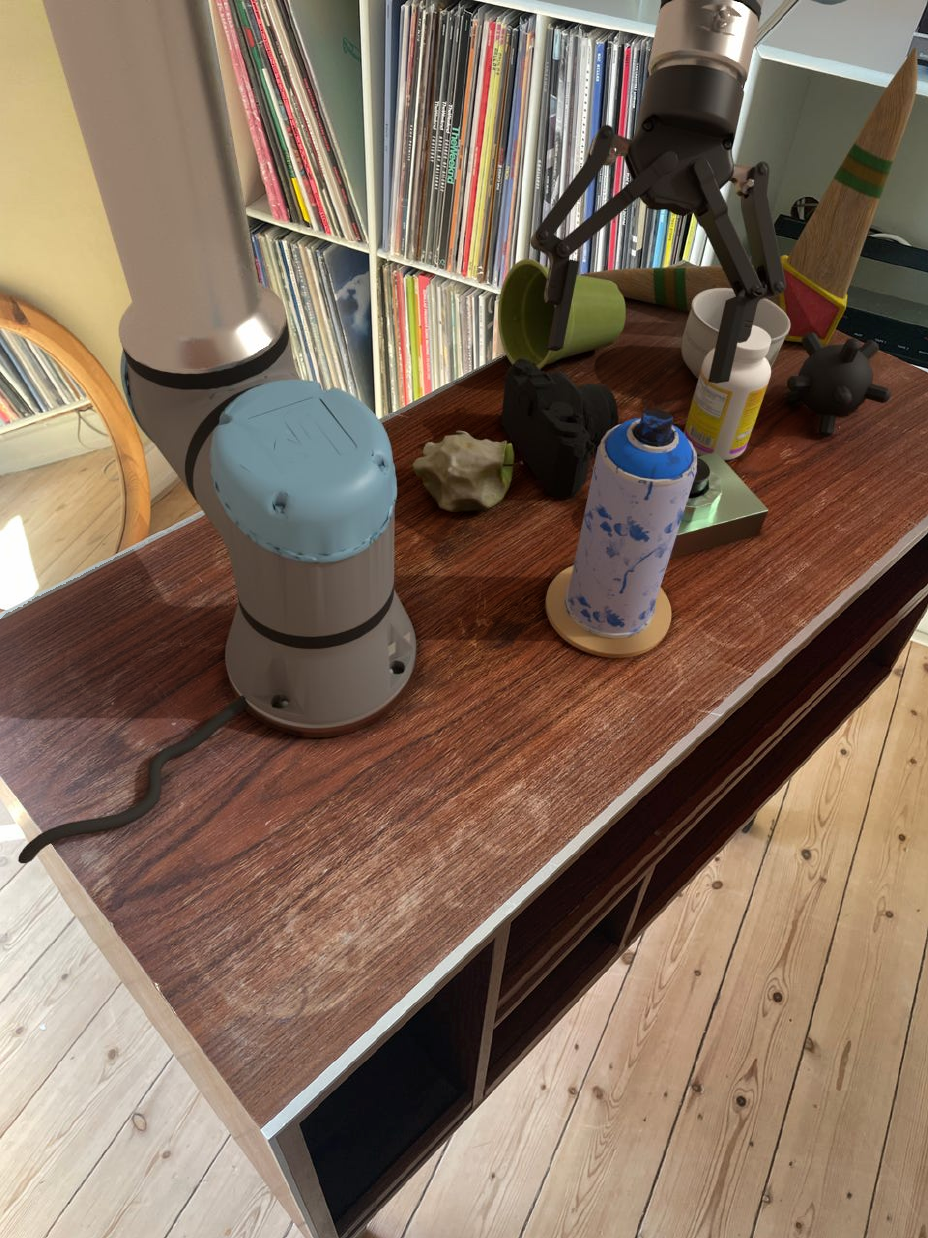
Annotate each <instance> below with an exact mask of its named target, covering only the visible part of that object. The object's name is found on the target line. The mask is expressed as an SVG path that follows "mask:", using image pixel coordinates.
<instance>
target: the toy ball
mask: <svg viewBox="0 0 928 1238" xmlns="http://www.w3.org/2000/svg"><path fill="white" fill-rule="evenodd" d="M800 343H801V344H802V346H803V348H804V349H805V351H806V353H807V354H808V357H807V358H806V359H805V360H804V362H803V364H802V366H801V367H800V369H799V372H798V373H797V375H790V376H789V377H788V378H787V380H786V388H787V389H788V390H789V391H787V392H786V393H785V396H784V399H785V403H786V404H788V405H789V406H793V405H796V404H799V403H801V404H803V405H804V406H805V407H806V408H807V409H808V410H809V411H810V412H811V413H813V414H816V415H819V416H820V417H819V423H818V426H817V427H818V428H817V434H818V435H819V436H820V437H823V438H830V437H831V436H832V435H834V432H835V426H836V420H837V418H840V417H843V416H846V415H848V414H853V413H856V412H857V410H859V407H861V406H862V405H863V404H864V403H865V402H866V400H870V401H873V402H877V403H880V404H885V403H887V402H889V400H890V399H891V396H892V391H891V389H890V388H888V387H886V386H882V385H878V384H875V383H873V382H874V372H873V369H872V365H871V363H870V359H872V357H873V356H875V354H877V352H879V349H880V347H879V344H878V343H877V342H876V341H874V340H872V339H871V340H870V339H869V340H867V341H866V342H865V343H864V344H861V342H860V340H859V339H858V338H855V337H851V338H847V339H846V340H845V342H844V344H829V345H828V344H827V345H825V346H824V345H822V343H821V342H820V340H819V338H818V337H817V335H816V334H815V333H813V332H811V333H807V334H806V335H804V336H803V338H802V341H801V342H800Z"/></svg>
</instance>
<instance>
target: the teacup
mask: <svg viewBox="0 0 928 1238" xmlns="http://www.w3.org/2000/svg"><path fill="white" fill-rule="evenodd" d="M735 296H736V295H735V293H734V291H733V289H730V288H715V289H709V290H706V291H703V292H701V293H699V294H698V295H696V296H695V298H694V299H693V301H692V304H691V311H689V314H688V317H687V321H686V323H685V327H684V332H683V335H682V340H681V346H680V347H681V348H680V349H681V351H680V352H681V357H682V359H683V361H684V363H685V365H686V366H687V368H688V369H689V370H690V371H691V373H692V374H693V375H694V376H695V378H696V379H699V375H700V372H701V368H702V364H703V361H704V359H705V357H706V355H707V354H708V353H709V352H710V351H711V350H713V349H714V348H715V347H716V343H717V338H718V333H719V329H720V324H721V320H722V315H723V311H724V306H725V301H726V300H728V299H731V298H733V297H735ZM753 325H755V326H757V327H760V328H761V329H763V330H765V331H766V332H767V333H768V334H769V336H770V337H771V344H770V348H769V351H768V353H767V355H766V356H765V358H766V359H767V360H768V362H769V364H770V367H771V368H772V367H773V365H774V363H775V362H776V359H777V358H778V357H777V356H778V354H779V352H780V350H781V348H782V346H783V343H784V341H785V336H786V335H787V334H788V332H789V330H790V320H789V318H788V316H787V315H786V313H785V312H784V311H783V310H782V309H781V308H780V307H778V306H777V305H776V304H774V303H773V302H771V301H770V300H768V299H761V300H760V301H759V302H758V304H757V308H756V313H755V317H754V322H753Z"/></svg>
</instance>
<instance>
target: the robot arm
mask: <svg viewBox="0 0 928 1238" xmlns="http://www.w3.org/2000/svg"><path fill="white" fill-rule="evenodd" d="M811 1H812V2H815V3H818V4H821V5H829V6H833V5H837V4H841V3H844V2H846V1H847V0H811ZM41 2H42V5H43V8H44V11H45V15H46V18H47V22H48V25H49V28H50V31H51V35H52V38H53V42H54V45H55V48H56V51H57V55H58V59H59V62H60V65H61V68H62V72H63V75H64V77H65V78H64V79H65V81H66V85H67V89H68V92H69V96H70V99H71V102H72V105H73V109H74V112H75V115H76V119H77V122H78V126H79V129H80V132H81V135H82V139H83V141H84V145H85V149H86V153H87V156H88V159H89V162H90V166H91V168H92V172H93V175H94V178H95V182H96V185H97V188H98V192H99V195H100V200H101V202H102V204H103V205H102V206H103V209H104V212H105V215H106V219H107V222H108V225H109V229H110V232H111V236H112V238H113V242H114V245H115V248H116V252H117V256H118V259H119V263H120V266H121V268H122V272H123V276H124V280H125V282H126V286H127V289H128V292H129V296H130V299H131V303H129V305H128V306H127V307H126V309H125V310H124V312H123V314H122V315H121V318H120V320H119V322H118V323H119V324H118V338H119V342H120V345H121V348H122V352H121V357H120V371H119V372H120V380H121V381H120V382H121V386H122V390H123V393H124V396H125V399H126V402H127V406H128V408H129V410H130V413H131V414H132V416H133V418H134V420H135V422H136V424H137V425H138V427H139V428H140V429H141V431H142V432H143V433H144V435H145V436H146V437H147V438H148V439H149V440H150V441H151V442H152V444H154V446H155V447H156V448H157V449H158V451H159V452H160V454H161V455H162V456H163V457H164V459H165V460H166V462H167V463H168V464H169V466H170V467H171V468H172V470H173V472H174V473H175V474H176V475H177V476H178V478H179V479H180V481H181V482H182V484H183V485H184V486H185V488H186V489H187V490H188V492H189V493H190V494H191V496H192V498H193V499H194V500H195V502H196V503H197V504H198V506H199V507H200V508H201V510H202V512H203V513H204V514H205V516H206V517H207V519H208V520H209V521H210V522H211V524H212V525H213V527H214V528H215V529H216V530H215V531H217V533H218V534H219V536H220V537H221V539H222V541H223V543H224V545H225V547H226V550H227V553H228V556H229V560H230V565H231V570H232V571H231V572H232V575H233V581H234V584H235V586H234V587H235V590H236V596H237V601H238V602H237V605H236V609H235V612H234V615H233V619H232V622H231V626H230V629H229V632H228V636H227V639H226V644H225V653H224V659H225V660H224V661H225V668H226V671H227V676H228V681H229V684H230V687H231V690H232V693H233V694H234V697H235V698H236V699H235V700H233V701H232V702H231V703H230V704H228V705H227V706H225V707H224V708H223V709H222V710H220V711H219V712H218V713H217V714H215V715H214V716H213V717H212V718H210V719H209V720H208V721H207V722H206V723H205V724H204V725H202V726H201V727H200V728H199V729H198V730H196V731H195V732H194V733H193V734H191V735H189V736H188V737H187V738H185V739H184V740H183V739H182V741H179V742H175V743H173V744H172V745H169V746H166V747H165V748H162V749H161V750H160V751H158V752H157V753H156V754H155V755H154V756H153V757H152V759H151V760H150V763H149V765H148V768H147V793H146V795H145V796H144V798H142V799H141V800H140V801H139V802H138V803H137V804H135V805H134V806H132V807H130V808H128V809H126V810H124V811H121V812H118V813H115V814H111V815H105V816H102V817H96V818H90V819H83V820H77V821H72V822H68V823H67V822H66V823H64V824H60V825H57V826H54V827H52V828H49V829H47V830H45V831H43V832H41V833H40V834H38V835H36V836H35V837H34V838H32V840H30V841H29V842H28V843H27V844H26V845H25V846H24V848H23V849H22V851H21V852H20V853H19V854H18V858H17V862H18V863H20V864H28V863H31V862H32V861H33V860H34V859H35V858H36V857H37V855H38V854H39V853H40V852H41V851H42V850H43V849H44V848H46V847H47V846H49V845H51V844H53V843H55V842H58V841H61V840H63V839H64V840H65V839H68V838H71V837H78V836H83V835H88V834H94V833H100V832H105V831H111V830H115V829H118V828H122V827H125V826H127V825H129V824H132V823H134V822H136V821H138V820H139V819H141V818H143V817H145V816H146V815H147V814H149V812H150V811H152V810H153V809H154V808H155V807H156V805H158V802H159V800H160V798H161V794H162V770H163V768H164V766H165V765H166V764H167V763H168V762H169V761H171V760H173V759H175V758H177V757H180V756H183V755H185V754H188V753H190V752H192V751H193V750H195V749H197V748H198V747H199V746H200V745H202V744H203V743H204V742H206V741H207V740H209V738H211V736H213V735H214V734H215V733H216V732H217V731H218V730H219V729H221V728H222V727H223V726H224V725H226V724H227V723H228V722H229V721H231V720H232V719H233V718H235V717H236V716H237V715H239V713H241V712H242V711H243V710H245V711H246V712H247V713H248V714H249V715H250V716H252V717H253V718H254V719H255V720H257V721H258V722H259V723H261V724H263V725H265V726H267V727H269V728H270V729H273V730H275V731H278V732H281V733H284V734H286V735H287V734H288V735H292V736H296V737H297V736H298V737H302V738H330V737H332V738H333V737H338V736H343V735H344V736H345V735H347V734H351V733H355V732H357V731H360V730H362V729H365V728H367V727H369V726H371V725H373V724H375V723H377V722H378V721H380V720H381V719H384V718H385V717H386V716H387V715H389V714H390V713H391V712H393V710H394V709H395V708H396V707H397V706H398V705H399V704H400V703H401V702H402V700H403V699H404V698H405V696H406V695H407V693H408V692H409V690H410V688H411V687H412V683H413V681H414V678H415V674H416V670H417V659H418V657H417V656H418V655H417V654H418V653H417V652H418V645H417V644H418V642H417V635H416V632H415V628H414V626H413V624H412V621H411V619H410V617H409V615H408V613H407V612H406V611H407V610H406V609H405V607H404V606H403V603H402V602H401V599H400V597H399V595H398V593H397V592H396V589H395V506H396V502H397V497H398V485H397V484H398V482H397V476H396V467H395V463H394V459H393V450H392V445H391V441H390V439H389V436H388V433H387V431H386V428H385V427H384V425H383V424H382V422H381V421H380V419H379V418H378V416H377V415H376V414H375V413H374V412H373V411H372V409H371V408H370V407H369V406H367V405H366V404H365V402H363V401H361V400H360V399H359V398H357V397H355V396H354V395H353V394H351V393H350V392H347V391H346V390H343V389H341V388H339V387H336V386H333V387H331V388H329V389H323V388H322V385H321V382H318V381H315V380H309V379H308V380H306V379H301V377H300V375H299V373H298V371H297V367H296V364H295V360H294V352H293V349H292V348H293V347H292V341H291V335H290V329H289V324H288V317H287V311H286V307H285V305H284V303H283V300H282V299H281V297H280V296H279V295H278V294H277V293H275V291H273V290H272V289H271V288H269V287H268V286H266V285H264V284H263V283H261V282H259V277H258V271H257V266H256V265H257V264H256V260H255V255H254V249H253V243H252V238H251V233H250V227H249V221H248V214H247V209H246V205H245V198H244V193H243V187H242V182H241V175H240V171H239V164H238V159H237V153H236V148H235V143H234V138H233V137H234V136H233V131H232V126H231V119H230V114H229V109H228V103H227V98H226V92H225V86H224V80H223V76H222V69H221V64H220V58H219V52H218V46H217V41H216V36H215V29H214V24H213V19H212V14H211V9H210V2H209V0H41ZM763 2H764V0H660V6H659V10H658V15H657V20H656V25H655V30H654V36H653V41H652V46H651V50H650V56H649V59H648V60H649V61H648V66H647V70H648V73H649V76H648V77H647V78H646V79H645V81H644V84H643V85H644V86H643V89H642V96H641V101H640V107H639V111H638V117H637V121H636V127H635V130H634V134H633V137H632V138H631V139H630V138H628V137H624V136H622V135H619V134H617V133H615V129H614V128H613V127H612V126H611V125H609V124H604V125H602V126H601V127H600V128H599V129H598V131H597V132H596V134H595V135H594V136H593V137H592V140H591V142H590V145H589V149H588V152H587V155H586V159H585V161H584V164H583V165H582V166H581V168H580V169H579V170H578V172H577V173H576V174H575V176H574V178H573V179H572V180H571V182H570V183H569V185H568V186H567V187H566V189H565V190H564V192H563V193H562V194H561V195H560V197H559V199H558V200H556V203H555V204H554V205H553V207H552V208H551V210H549V212H548V213H547V215H546V216H545V218H544V219H543V221H542V222H541V223H540V225H538V228H537V229H536V230H535V232H534V233H533V234H532V236H531V237H530V242H529V243H530V246H531V247H532V249H534V250H536V251H540V253H542V254H544V255H545V256H547V258H548V260H549V272H548V277H547V283H546V288H545V293H544V299H545V303H548V304H553V305H556V306H555V311H554V316H553V322H552V327H551V332H550V338H549V343H548V348H547V350H551V351H558V350H560V349H562V348H563V345H564V340H565V335H566V330H567V325H568V319H569V314H570V309H571V304H572V298H573V293H574V288H575V283H576V278H577V275H578V271H579V266H580V260H575V259H570V257H571V255H572V254H574V253H575V252H576V251H577V250H578V249H580V248H581V247H582V246H583V245H584V244H586V242H588V241H589V240H590V239H592V238H593V237H594V236H596V234H598V232H600V231H601V230H602V229H603V228H604V227H605V226H607V225H608V224H610V223H611V222H612V221H613V220H614V219H615V218H616V217H617V216H619V215H620V214H621V213H623V211H624V210H626V209H627V208H628V207H630V205H632V204H633V203H634V202H635V201H637V200H638V199H640V201H641V202H642V203H643V205H645V206H646V209H648V210H653V211H664V210H665V211H668V212H670V213H671V214H674V215H676V216H680V217H686V216H687V215H691V214H693V216H694V218H695V220H696V222H697V224H698V225H699V226H700V227H701V228H702V229H703V231H704V233H705V235H706V237H707V239H708V241H709V243H710V246H711V247H712V250H713V251H714V253H715V256H716V258H717V260H718V262H719V264H720V266H722V268H723V270H724V272H725V274H726V277H727V279H728V281H729V283H730V285H731V287H732V289H733V291H734V293H735V295H736V296H735V297H733V298H731V299H728V300H726V301H725V306H724V311H723V315H722V320H721V324H720V329H719V333H718V338H717V343H716V347H715V352H714V356H713V361H712V366H711V370H710V375H709V379H708V382H711V383H716V384H717V383H723V382H729V379H730V374H731V370H732V365H733V361H734V356H735V352H736V347H737V343H742V342H746V341H747V340H748V338H749V337H750V335H751V331H752V326H753V322H754V317H755V313H756V308H757V304H758V302H759V301H760V300H761V299H768V298H771V297H773V296H776V295H779V294H781V293H783V292H784V291H785V289H786V282H785V277H784V272H783V267H782V262H781V258H780V257H781V253H780V248H779V244H778V239H777V233H776V229H775V223H774V219H773V213H772V209H771V205H770V200H769V196H768V191H769V184H770V176H771V175H770V174H771V166H770V164H769V163H768V162H766V161H759V162H757V163H756V164H755V165H748V164H739V163H735V162H734V157H733V149H734V148H733V147H734V143H735V140H736V135H737V130H738V125H739V121H740V116H741V113H742V112H741V111H742V108H743V107H742V106H743V102H744V97H745V90H744V88H743V86H744V85H745V84H746V82H748V78H749V77H748V76H749V72H750V68H751V64H752V57H753V53H754V50H755V49H754V48H755V44H756V38H757V35H758V30H759V25H760V20H761V15H762V8H763V4H764V3H763ZM619 157H624V158H623V159H624V162H625V165H626V167H627V170H628V173H629V175H630V177H631V179H632V180H631V181H630V182H628V183H627V184H626V185H625V186H624V187H623V188H621V190H620V191H618V192H616V194H615V195H614V196H612V197H611V198H610V199H609V200H608V201H606V202H605V203H604V204H603V205H601V207H599V208H598V209H597V210H595V212H593V214H591V215H590V216H589V217H588V218H586V219H585V220H584V221H582V222H581V223H580V224H579V225H578V226H577V227H576V228H574V229H573V230H572V231H571V232H569V234H567V235H566V236H565V237H564V238H563V239H562V238H560V237H558V236H557V235H555V233H557V231H558V229H560V227H561V225H562V224H563V223H564V221H565V220H566V218H567V217H568V215H569V214H570V213H571V212H572V210H573V209H574V208H575V206H576V204H577V203H578V202H579V201H580V199H581V198H582V196H583V195H584V193H585V192H586V190H587V189H588V188H589V186H590V185H591V184H592V182H593V181H594V180H595V178H596V177H597V175H598V174H599V173H600V171H601V170H602V168H603V167H604V166H606V167H608V166H611V165H612V164H613V163H615V161H616V160H617V158H619ZM729 182H731V183H732V184H733V186H734V191H735V194H736V195H737V196H739V197H740V208H741V209H740V210H741V214H742V219H743V220H742V221H743V223H744V227H745V233H746V234H745V235H746V238H747V242H748V247H749V252H750V256H751V260H750V258H749V257H750V256H749V255H748V253H747V251H746V249H745V247H744V245H743V243H742V241H741V238H740V237H739V235H738V232H737V230H736V228H735V225H734V224H733V222H732V220H731V217H730V214H729V208H728V204H727V202H726V200H725V198H724V195H723V193H722V192H721V190H722V188H724V187H725V186H726V185H727V184H728V183H729ZM752 265H753V266H752ZM753 267H754V268H753Z"/></svg>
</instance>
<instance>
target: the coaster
mask: <svg viewBox="0 0 928 1238" xmlns="http://www.w3.org/2000/svg"><path fill="white" fill-rule="evenodd" d="M573 566H574V564H573V565H570V566H568V567H567V568H565V569H563V570H562V571H560V572H559V573H558V574H557V575H556V576H555V577H554V578H553V579H552V581H551V583H550V584H549V586H548V589H547V591H546V597H545V613H546V615H547V618H548V621H549V623H550V625H551V627H552V628H553V629H554V631H555V632H556V633H557V634H558V635H559V636H560V637H561V638H562V639H563V640H564V641H566V642H567V643H568V644H569V645H571V646H572V647H574V648H577V650H580V651H582V652H584V653H587V654H590V655H593V656H597V657H602V658H610V659H625V658H626V659H627V658H632V657H636V656H640V655H642V654H645V653H647V652H649V651H651V650H653V649H654V648H655V647H657V646H658V645H660V643H661V642H662V641H663V640H664V638H665V637H666V635H667V633H668V632H669V629H670V626H671V622H672V607H671V603H670V601H669V598H668V596H667V593H666V592H665V591H664V589H663V588H662V587H661V586H660V590H659V593H658V596H657V599H656V602H655V613H654V616H653V618H652V620H651V622H650V624H649V626H648V627H646V628H645V629H644V630H643V631H642V632H641V633H639V634H636V635H633V636H631V637H628V638H617V639H612V638H606V637H600V636H597V635H595V634H592V633H590V632H587V631H586V630H584V629H583V628H581V627H580V626H579V625H577V624H576V623H575V622H574V621H573V619H572V618H571V617H570V615H569V614H568V612H567V608H566V605H565V596H566V590H567V588H568V586H569V584H570V581H571V576H572V571H573Z"/></svg>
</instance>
